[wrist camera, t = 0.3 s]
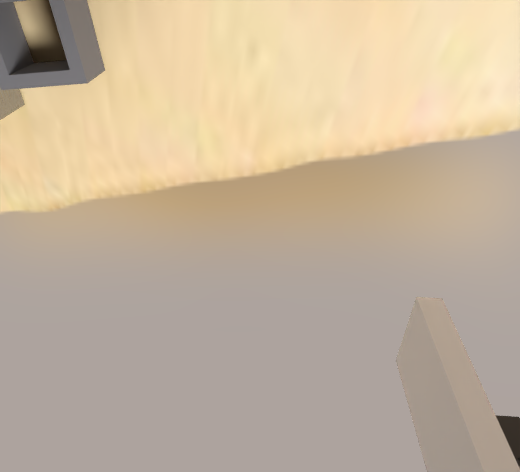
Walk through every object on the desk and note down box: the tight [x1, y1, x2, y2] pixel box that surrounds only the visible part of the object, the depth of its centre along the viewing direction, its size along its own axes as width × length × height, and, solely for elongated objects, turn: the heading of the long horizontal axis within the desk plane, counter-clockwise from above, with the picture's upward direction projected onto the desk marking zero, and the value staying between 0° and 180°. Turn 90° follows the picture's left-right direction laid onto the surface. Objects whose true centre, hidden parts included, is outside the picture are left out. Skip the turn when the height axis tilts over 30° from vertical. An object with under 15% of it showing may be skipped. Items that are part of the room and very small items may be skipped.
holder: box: [0, 0, 105, 90], centre depth 33 cm, size 7×7×4 cm
